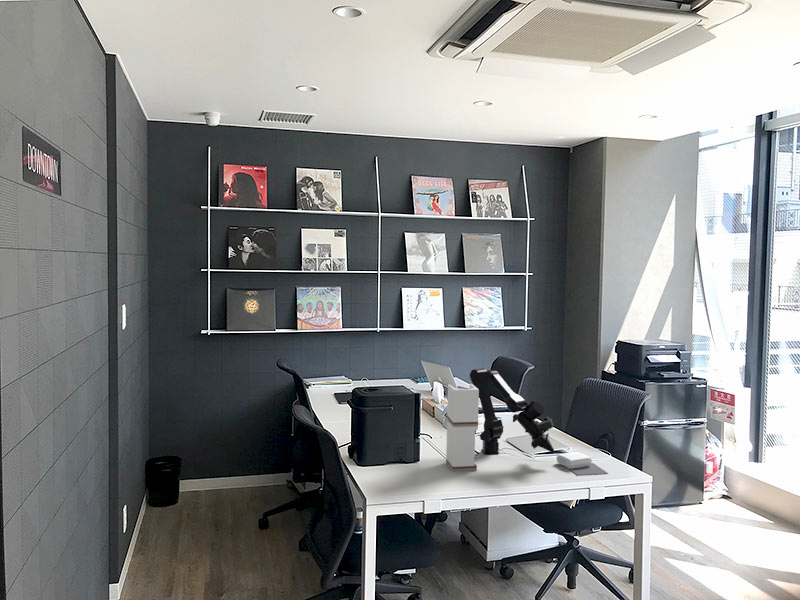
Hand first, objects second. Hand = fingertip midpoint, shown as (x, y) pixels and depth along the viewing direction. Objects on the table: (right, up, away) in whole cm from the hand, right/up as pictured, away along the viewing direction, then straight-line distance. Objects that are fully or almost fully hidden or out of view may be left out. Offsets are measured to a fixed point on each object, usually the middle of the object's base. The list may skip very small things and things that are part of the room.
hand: (553, 451), depth 292 cm
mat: (+13, -7, -2) cm, 15 cm away
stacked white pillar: (-40, -6, -1) cm, 41 cm away
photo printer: (+4, -4, 0) cm, 6 cm away
